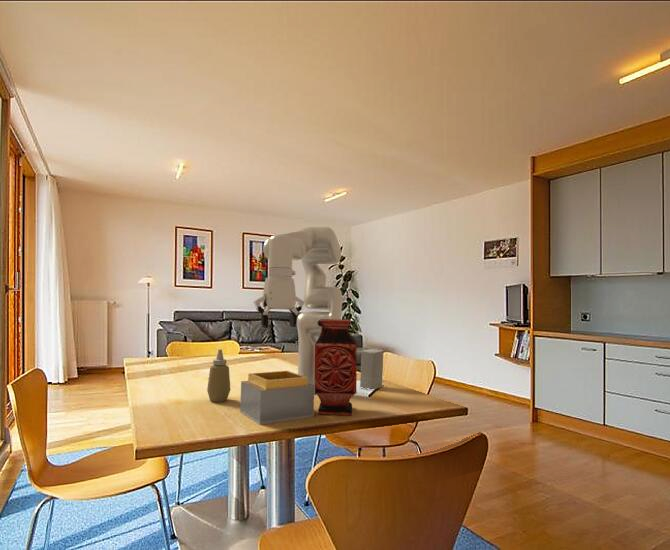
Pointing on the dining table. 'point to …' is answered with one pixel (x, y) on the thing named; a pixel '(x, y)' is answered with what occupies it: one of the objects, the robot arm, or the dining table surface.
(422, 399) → the dining table surface
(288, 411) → the box
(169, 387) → the dining table surface
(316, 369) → the vase
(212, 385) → the squeeze bottle
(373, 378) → the skincare box
